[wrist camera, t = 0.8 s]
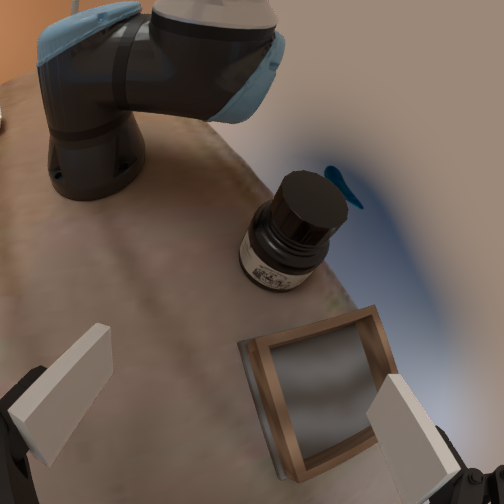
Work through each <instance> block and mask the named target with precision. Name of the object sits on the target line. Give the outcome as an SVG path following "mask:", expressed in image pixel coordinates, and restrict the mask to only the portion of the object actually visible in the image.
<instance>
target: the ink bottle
mask: <svg viewBox="0 0 504 504" xmlns="http://www.w3.org/2000/svg"><path fill="white" fill-rule="evenodd" d="M347 214H348V207H347V203H346V199H345V197H344V196H343V195H342V193H341V192H340V190H339V189H338V188H337V187H336V186H335V185H334V184H333V183H331V182H330V181H329V180H328V179H327V178H324V177H322V176H320V175H318V174H317V173H313V172H309V171H305V170H302V171H293V172H292V173H290V174H288V175H287V176H285V177H284V179H283V181H282V183H281V185H280V187H279V189H278V190H277V192H276V194H275V196H274V199H272V200H269V201H267V202H265V203H264V204H262V205H261V206H260V207H259V208H258V209H257V211H256V212H255V214H254V216H253V218H252V220H251V222H250V224H249V227H248V229H247V231H246V233H245V235H244V238H243V240H242V242H241V245H240V248H239V261H240V264H241V267H242V269H243V271H244V272H245V274H246V275H247V276H248V277H249V278H250V279H251V280H252V281H253V282H254V283H256V284H257V285H259V286H261V287H263V288H265V289H268V290H271V291H276V292H284V291H288V290H291V289H293V288H295V287H297V286H298V285H299V284H301V283H302V282H303V281H304V280H305V279H306V278H307V277H308V276H309V275H310V274H311V273H312V272H314V271H315V270H316V268H317V267H318V266H319V265H320V264H321V263H322V261H323V260H324V259H325V257H326V255H327V253H328V250H329V244H330V240H329V239H330V238H331V237H332V236H333V234H334V233H335V232H336V231H337V230H338V229H339V228H340V227H341V225H342V224H343V223H344V222H345V221H346V220H347Z"/></svg>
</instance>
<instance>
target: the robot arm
mask: <svg viewBox="0 0 504 504" xmlns="http://www.w3.org/2000/svg"><path fill="white" fill-rule="evenodd" d="M141 11H142V7H141V4H140V2H138V1H126V2H119V3H113V4H108V5H104V6H100V7H96V8H92V9H89V10H86V11H83V12H80V13H77V14H74V15H71V16H69V17H66V18H64V19H62V20H60V21H58V22H56V23H54V24H52V25H50V26H49V27H47V28H46V29H45V30H44V31H43V32H42V33H41V35H40V37H39V39H38V44H37V49H38V50H37V54H38V56H37V57H38V62H37V65H36V66H37V68H38V76H39V82H40V89H41V94H42V100H43V105H44V110H45V114H46V119H47V123H48V127H49V132H50V140H49V152H48V172H49V176H50V179H51V181H52V184H53V186H54V188H55V189H56V190H57V192H59V193H60V194H61V195H63V196H65V197H67V198H70V199H75V200H93V199H98V198H102V197H105V196H108V195H110V194H113V193H115V192H117V191H119V190H120V189H122V188H124V187H125V186H126V185H128V184H129V183H130V182H131V181H132V180H133V179H134V178H135V177H136V176H137V175H138V174H139V172H140V171H141V169H142V167H143V164H144V160H145V144H144V139H143V136H142V134H141V132H140V129H139V127H138V124H137V122H136V120H135V117H134V115H133V111H137V112H147V113H156V114H165V115H173V116H180V117H187V118H193V119H199V120H202V121H204V122H212V121H215V122H222V123H229V124H236V123H240V122H243V121H246V120H247V119H249V118H250V117H251V116H252V115H253V113H254V112H255V111H256V110H257V109H258V107H259V106H260V104H261V103H262V101H263V99H264V98H265V96H266V94H267V92H268V90H269V88H270V87H271V84H272V82H273V80H274V78H275V76H276V69H277V68H278V66H279V65H280V62H281V60H282V57H283V54H284V50H285V39H284V36H283V35H281V34H280V33H279V32H277V31H275V28H276V25H277V22H278V17H277V15H276V14H275V12H274V11H273V9H272V8H271V6H270V4H269V1H268V0H157V1H156V2H155V3H154V4H153V8H152V14H141V13H140V12H141ZM113 373H114V369H113V357H112V342H111V327H109V326H106V325H103V324H101V323H98V322H97V323H96V324H94V325H93V326H92V327H91V328H90V329H89V330H88V331H87V332H86V333H85V334H84V335H83V336H81V337H80V338H79V339H78V340H77V341H76V342H75V343H74V344H73V345H72V346H71V347H70V348H69V349H68V350H67V351H66V352H64V353H63V354H62V355H61V356H60V357H59V358H58V359H57V360H56V361H55V362H54V363H53V364H52V365H51V366H50V367H49V368H48V369H47V368H46V367H44V366H42V365H41V366H38V367H36V368H34V369H31V370H30V371H29V372H28V373H27V374H26V375H25V376H24V378H22V379H21V380H20V381H19V382H18V384H16V385H15V386H13V387H12V388H11V389H10V390H9V391H8V392H7V393H6V394H5V395H4V396H3V397H2V398H1V399H0V504H39V501H38V498H37V495H36V491H35V488H34V484H33V480H32V476H31V472H30V467H29V462H28V458H27V455H26V453H27V452H28V450H30V451H31V453H32V454H33V456H34V458H36V459H37V460H39V461H41V462H42V463H44V464H45V465H47V466H49V467H51V466H52V464H53V462H54V461H55V459H56V458H57V456H58V454H59V453H60V451H61V450H62V448H63V447H64V445H65V444H66V442H67V440H68V439H69V437H70V436H71V434H72V433H73V431H74V430H75V428H76V427H77V425H78V424H79V422H80V421H81V419H82V418H83V416H84V415H85V413H86V412H87V411H88V409H89V408H90V406H91V405H92V403H93V402H94V400H95V399H96V397H97V396H98V395H99V393H100V392H101V390H102V389H103V387H104V386H105V385H106V383H107V382H108V380H109V379H110V378H111V376H112V375H113ZM366 415H367V417H368V419H369V421H370V424H371V426H372V428H373V431H374V433H375V435H376V438H377V440H378V442H379V445H380V447H381V450H382V452H383V454H384V457H385V459H386V462H387V464H388V467H389V469H390V472H391V474H392V477H393V479H394V482H395V484H396V487H397V489H398V492H399V494H400V497H401V500H402V502H403V504H423V503H424V502H425V501H426V500H428V499H429V501H430V503H429V504H488V503H489V502H490V501H491V504H504V465H500V466H499V467H497V469H496V470H495V471H494V472H493V473H489V474H483V473H482V472H481V471H480V470H478V469H476V468H470V469H468V468H467V467H466V465H465V464H464V462H463V460H462V459H461V457H460V456H459V454H458V452H457V451H456V449H455V448H454V447H453V445H452V443H451V441H449V438H448V437H447V435H446V434H445V432H444V431H443V430H442V429H440V428H439V427H438V426H434V424H433V423H432V421H431V420H430V418H429V416H428V415H427V414H426V412H425V410H424V409H423V408H422V406H421V404H420V403H419V401H418V400H417V398H416V397H415V395H414V394H413V393H412V391H411V390H410V388H409V387H408V385H407V384H406V382H405V381H404V379H403V378H402V377H401V375H400V374H388V375H387V376H386V378H385V380H384V382H383V384H382V386H381V388H380V390H379V392H378V393H377V395H376V397H375V399H374V400H373V402H372V404H371V406H370V407H369V409H368V411H367V412H366Z"/></svg>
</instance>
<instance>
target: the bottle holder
mask: <svg viewBox="0 0 504 504" xmlns="http://www.w3.org/2000/svg"><path fill="white" fill-rule="evenodd" d="M237 344H238V348H239V351H240V355H241V358H242V362H243V366H244V369H245V373H246V376H247V380H248V383H249V387H250V390H251V394H252V397H253V400H254V404H255V407H256V410H257V414H258V417H259V420H260V423H261V427H262V430H263V433H264V436H265V440H266V443H267V446H268V449H269V452H270V455H271V458H272V461H273V464H274V467H275V470H276V473H277V476H278V478H279V479H280V480H284V479H287V478H291V479H292V480H294V481H296V482H298V483H301V482H304V481H306V480H308V479H310V478H313V477H315V476H317V475H319V474H321V473H323V472H325V471H327V470H329V469H331V468H333V467H335V466H337V465H339V464H341V463H343V462H345V461H347V460H348V459H350V458H352V457H354V456H356V455H357V454H359V453H361V452H362V451H364V450H366V449H367V448H369V447H371V446H372V445H374V444H375V443H377V442H378V440H377V438H376V435H375V433H374V431H373V428H372V426H371V424H370V421H369V419H368V417H367V415H366V412H367V411H368V409H369V407H370V406H371V404H372V402H373V400H374V399H375V397H376V395H377V393H378V392H379V390H380V388H381V386H382V384H383V382H384V380H385V378H386V376H387V375H388V374H398V370H397V367H396V364H395V361H394V358H393V355H392V351H391V349H390V346H389V342H388V340H387V337H386V334H385V331H384V328H383V325H382V322H381V320H380V317H379V315H378V312H377V309H376V306H375V305H371V306H368V307H365V308H363V309H359V310H356V311H353V312H350V313H346V314H343V315H340V316H337V317H333V318H330V319H326V320H323V321H319V322H316V323H312V324H309V325H305V326H301V327H298V328H294V329H290V330H286V331H282V332H278V333H274V334H270V335H265V336H261V337H257V338H253V339H248V340H243V341H239V342H238V343H237Z"/></svg>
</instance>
